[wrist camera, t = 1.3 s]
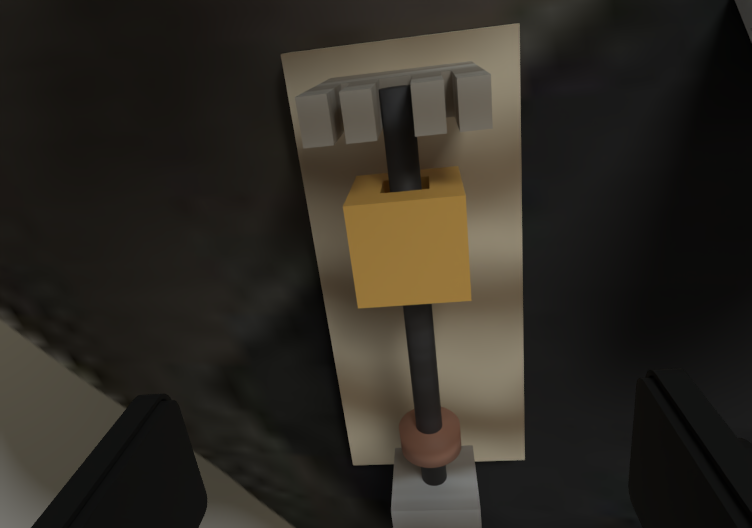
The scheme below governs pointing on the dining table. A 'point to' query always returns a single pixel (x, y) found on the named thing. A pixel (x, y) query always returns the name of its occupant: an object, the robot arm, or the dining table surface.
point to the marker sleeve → (409, 240)
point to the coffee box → (746, 14)
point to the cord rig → (486, 256)
